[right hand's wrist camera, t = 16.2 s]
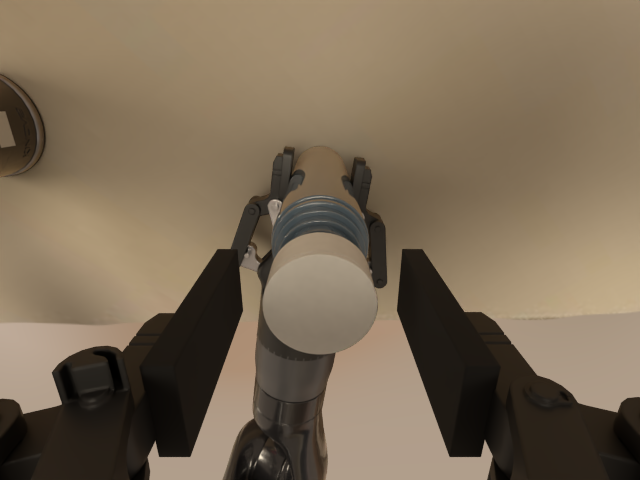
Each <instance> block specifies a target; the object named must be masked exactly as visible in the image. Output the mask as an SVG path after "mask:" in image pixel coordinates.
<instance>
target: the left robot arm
mask: <svg viewBox="0 0 640 480" xmlns="http://www.w3.org/2000/svg"><path fill="white" fill-rule="evenodd" d="M43 145H44V131H43V126H42V122H41V119H40V116H39V114H38V112H37V110H36V108H35V106H34V105H33V103H32V102H31V100H30V99H29V98H28V96H27V95H26V94H25V93H24V92H23V91H22V90H21V89H20V88H19V87H18V86H17V85H16V84H14V83H13V82H12V81H10V80H9V79H7V78H6V77H4V76H2V75H0V177H6V176H12V175H16V174H19V173H22V172H25V171H27V170H28V169H30V168H31V167H32V166H33V165H34V164H35V163H36V162H37V160H38V159H39V157H40V155H41V153H42V150H43ZM293 158H294V148H293V147H285V148H284V152H283V154H281V153H278V155H277V156H276V158H275V160H274V162H273V172H272V182H271V192H270V194H268V195H266V196H261V197H259V196H254V197H252V198H251V199H250V201H249V203H248V204H247V205H246V207H245V209H244V212H243V215H242V218H241V220H240V223H239V226H238V229H237V232H236V235H235V238H234V241H233V244H232V247H231V249H238V260H239V267H240V266H242V267H245V268H248V269H251V270H253V271H256V272H257V274H258V277H259V279H260V281H261V284H262V291H261V301H260V311H259V321H258V331H257V342H256V352H255V362H256V378H255V387H254V398H253V414H254V419H252V420H251V421H249V422H248V423H247V424H246V425H245V426H244V427H243V428H242V429H241V431H240V432H239V434H238V436H237V438H236V441H235V443H234V446H233V449H232V452H231V455H230V458H229V462H228V465H227V468H226V471H225V474H224V477H223V480H325V479H326V474H327V463H328V458H327V446H326V439H325V434H324V428H323V419H322V406H323V401H324V396H325V391H326V385H327V381H328V378H329V375H330V373H331V370H332V367H333V363H334V358H335V353H331V354H309V353H304V352H301V351H298V350H295V349H293V348H291V347H289V346H287V345H286V344H284V343H283V342H282V341H280V340H279V339H278V338H277V337H276V336H275V335H274V334H273V333H272V331H271V330H270V328H269V327H268V325H267V323H266V320H265V318H264V314H263V307H262V301H263V295H264V290H265V287H266V283H267V280H268V276H269V273H270V269H271V266H272V263H273V261H274V258H273V255H272V249H271V250H270V251H269V252H268V253H267V254H266V255H265V256H264V257H263V258H260V257H259V256H258V255H257V246H256V244H255V243H253V242H251V239H252V236H253V233H254V231H255V228H256V225H257V222H258V220H259V217H260V216H262V215H267V214H270V218H271V221H272V225H273V226H274V223H275V220H276V218H277V215H278V212H279V209H280V206H281V204H282V201H283V198H284V195H285V193H286V190H287V187H288V184H289V181H290V179H291V175H292V167H293ZM365 165H366V161H365V160H364V158H358V157H355V158H354V163H353V168H352V174H351V179H350V182H351V185H352V187H353V190H354V193H355V196H356V198H357V201H358V204H359V207H360V209H361V212H362V215H363V218H364V221H365V223H366V226H367V229H368V234H369V247H368V257H367V259H366V261H367V263H368V266H369V269H370V273H371V276H372V280H373V283H374V286H375V287H376V288H383V287H384V286H386V284H387V266H386V238H385V226H384V224H383V222H382V220H381V218H380V216H379V215H378V214H377V213H372V212H371V211H369V210H367V209H366V204H367V199H368V194H369V189H370V183H371V178H372V175H371V170H370V168H369V167H367V166H365Z"/></svg>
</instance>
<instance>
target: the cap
mask: <svg viewBox="0 0 640 480" xmlns="http://www.w3.org/2000/svg"><path fill="white" fill-rule="evenodd" d="M262 307H263V314H264V318H265V320H266V323H267V325H268V327H269V328H270V330H271V331H272V333H273V334H274V335H275V336H276V337H277V338H278V339H279V340H280V341H282V342H283V343H284V344H286V345H287V346H289V347H291V348H293V349H295V350H298V351H301V352H304V353H309V354H331V353H336V352H339V351H342V350H345V349H347V348H349V347H351V346H353V345H354V344H356V343H357V342H359V341H360V340H361V339H362V338H363V337H364V336H365V335H366V334H367V333H368V331H369V330H370V328H371V327H372V325H373V323H374V320H375V318H376V314H377V308H378V300H377V294H376V290H375V287H374V283H373V280H372V276H371V273H370V269H369V266H368V263H367V261H366V258H365V257H364V255H363V253H362V252H361V251H360V250H359V248H357V247H356V246H355V245H354V244H353V243H352V242H350V241H349V240H347V239H345V238H343V237H341V236H338V235H335V234H331V233H324V232H316V233H309V234H305V235H302V236H299V237H297V238H295V239H293V240H291V241H290V242H288V243H287V244H286V245H285V246H284V247H283V248H282V249H281V250H280V251H279V252H278V253H277V255H276V257H275V259H274V261H273V263H272V266H271V269H270V273H269V276H268V280H267V283H266V287H265V290H264V295H263V301H262Z"/></svg>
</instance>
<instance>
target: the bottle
mask: <svg viewBox="0 0 640 480" xmlns="http://www.w3.org/2000/svg"><path fill="white" fill-rule="evenodd" d="M316 232H324V233H331V234H335V235H338V236H341V237H343V238H345V239H347V240H349V241H350V242H352V243H353V244H354V245H355V246H356V247H357V248H359V250H360V251H361V252H362V253H363V255H364V257H365V258H366V259H367V254H368V247H369V234H368V229H367V226H366V223H365V221H364V218H363V215H362V212H361V209H360V207H359V204H358V201H357V198H356V196H355V193H354V190H353V187H352V185H351V182H350V179H349V176H348V173H347V171H346V168H345V165H344V162H343V160H342V158H341V157H340V155H339V154H338V153H337V152H335V151H334V150H333V149H331V148H328V147H324V146H316V147H312V148H309V149H307V150H306V151H304V152H303V153H302V154H301V155H300V157H299V158H298V160H297V162H296V165H295V168H294V170H293V173H292V176H291V179H290V181H289V184H288V187H287V190H286V193H285V195H284V198H283V201H282V204H281V206H280V209H279V212H278V215H277V218H276V220H275V223H274V226H273V229H272V234H271V247H272V255H273V258H274V259H275V257H276V255H277V253H278V252H279V251H280V250H281V249H282V248H283V247H284V246H285V245H286V244H287V243H288V242H290V241H291V240H293V239H295V238H297V237H299V236H302V235H305V234H309V233H316Z"/></svg>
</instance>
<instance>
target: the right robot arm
mask: <svg viewBox="0 0 640 480" xmlns="http://www.w3.org/2000/svg"><path fill="white" fill-rule="evenodd" d="M242 312H243V305H242V294H241V283H240V272H239V260H238V249H218V250H217V251H216V253H215V254H214V256H213V257H212V259H211V260H210V262H209V263H208V265H207V266H206V268H205V269H204V271H203V272H202V274H201V275H200V277H199V278H198V279H197V281H196V282H195V284H194V285H193V287H192V288H191V290H190V291H189V293H188V294H187V296H186V297H185V299H184V300H183V302H182V303H181V305H180V306H179V308H178V309H177V311H176V312H175V313H159V314H157V315H156V316H154V317H153V318H151V319H150V320H148V321H147V322H146V323H144V325H143V326H142V327H141V329H140V330H139V331H138V333H137V334H136V336H135V337H134V338H133V339H132V340H131V342H130V343H129V346H127V347H126V348H125V349H124V351H123V352H121V351H120V350H119V349H118V348H116V347H111V346H99V347H93V348H89V349H85V350H82V351H80V352H78V353H75V354H73V355H71V356H69V357H68V358H66V359H65V360H64V361H62V362H61V363H59V364H58V365H57V367H56V368H55V369H54V370H53V372H52V375H53V378H54V381H55V384H56V387H57V390H58V393H59V396H60V399H61V401H62V405H60V406H56V407H52V408H48V409H43V410H39V411H35V412H30V413H26V414H23V413H22V410H21V408H20V405H19V404H18V403H17V402H16V401H14V400H10V399H0V480H149V476H150V468H149V462H148V458H147V457H148V455H149V453H150V451H151V449H152V447H153V444H154V442H155V440H156V445H157V449H158V454H159V457H190V456H191V453H192V451H193V448H194V445H195V442H196V440H197V437H198V434H199V431H200V429H201V426H202V423H203V420H204V417H205V415H206V412H207V409H208V406H209V404H210V401H211V398H212V395H213V392H214V390H215V387H216V384H217V381H218V379H219V376H220V373H221V370H222V367H223V365H224V362H225V359H226V356H227V354H228V351H229V348H230V345H231V342H232V340H233V337H234V334H235V331H236V329H237V326H238V323H239V320H240V317H241V315H242ZM397 312H398V315H399V317H400V320H401V323H402V326H403V329H404V331H405V334H406V337H407V340H408V342H409V345H410V348H411V351H412V353H413V356H414V359H415V362H416V365H417V367H418V370H419V373H420V376H421V379H422V381H423V384H424V387H425V390H426V392H427V395H428V398H429V401H430V404H431V406H432V409H433V412H434V415H435V417H436V420H437V423H438V426H439V429H440V431H441V434H442V437H443V440H444V442H445V445H446V448H447V451H448V454H449V456H450V457H481V454H482V449H483V445H484V440H486V442H487V445H488V447H489V449H490V451H491V453H492V455H493V458H492V462H491V466H490V471H489V475H488V479H487V480H640V397H634V398H627V399H626V400H624V401H623V402H622V403H621V405H620V408H619V410H618V413H617V412H612V411H608V410H603V409H599V408H595V407H590V406H586V405H583V404H579V403H578V402H577V401H576V399H575V398H574V396H573V395H572V394H571V393H570V392H569V391H568V390H566V389H565V388H564V387H563V386H561V385H559V384H557V383H556V382H554V381H552V380H550V379H547V378H543V377H540V376H537V375H536V373H535V372H534V371H533V369H532V368H531V367H530V366H529V364H528V363H527V362H526V360H525V359H524V358H523V357H522V355H521V354H520V353H519V352H518V350H517V349H516V348H515V346H514V345H513V344H511V341H510V340H509V339H508V337H507V336H506V335H504V332H503V331H502V330H501V328H500V327H499V326H498V325H497V323H496V322H495V321H494V320H492V319H491V318H489V317H488V316H486V315H485V314H483V313H482V312H464V311H463V309H462V308H461V306H460V305H459V303H458V302H457V300H456V299H455V297H454V296H453V294H452V293H451V291H450V290H449V288H448V287H447V285H446V284H445V282H444V281H443V279H442V278H441V277H440V275H439V274H438V272H437V271H436V269H435V268H434V266H433V265H432V263H431V262H430V260H429V259H428V257H427V256H426V254H425V253H424V251H423V250H422V249H402V260H401V272H400V283H399V294H398V305H397Z"/></svg>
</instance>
